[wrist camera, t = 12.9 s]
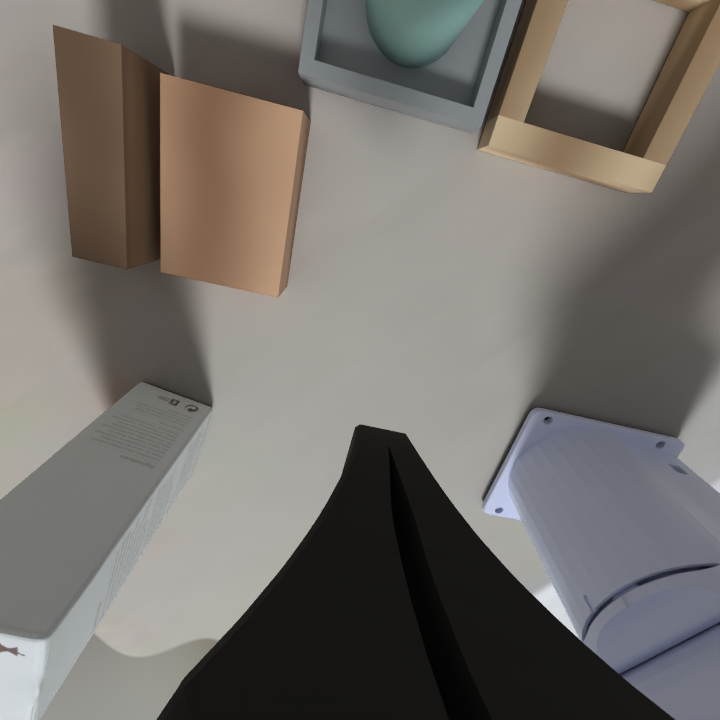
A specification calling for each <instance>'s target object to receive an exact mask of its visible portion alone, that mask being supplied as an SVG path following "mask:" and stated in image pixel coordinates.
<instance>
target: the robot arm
mask: <svg viewBox="0 0 720 720" xmlns="http://www.w3.org/2000/svg"><path fill="white" fill-rule="evenodd" d="M546 417H549V418H548V419H547V420H544V419H545V418H546ZM683 449H684V443H683V442H682V441H681V440H679V439H678V438H675V437H670V436H666V435H661V434H657V433H652V432H648V431H643V430H639V429H634V428H630V427H625V426H621V425H616V424H612V423H607V422H602V421H598V420H593V419H589V418H584V417H580V416H575V415H571V414H566V413H562V412H557V411H553V410H548V409H544V408H535V409H533V410H531V411H530V413H529V414H528V416H527V418H526V420H525V422H524V424H523V426H522V428H521V430H520V432H519V434H518V436H517V438H516V440H515V441H514V443H513V445H512V447H511V449H510V451H509V453H508V455H507V457H506V459H505V461H504V463H503V465H502V467H501V469H500V471H499V472H498V474H497V476H496V478H495V480H494V482H493V484H492V486H491V488H490V490H489V492H488V494H487V496H486V498H485V500H484V502H483V504H482V507H483V510H484V512H485V513H487V514H491V515H496V516H502V517H507V518H512V519H518V520H521V521H522V523H523V525H524V527H525V529H526V531H527V533H528V535H529V537H530V539H531V541H532V543H533V545H534V547H535V549H536V551H537V553H538V555H539V557H540V559H541V561H542V563H543V566H544V568H545V570H546V572H547V574H548V576H549V578H550V580H551V582H552V584H553V586H554V588H555V590H556V592H557V594H558V596H559V598H560V600H561V602H562V604H563V606H564V608H565V610H566V612H567V614H568V617H569V619H570V621H571V623H572V625H573V627H574V629H575V631H576V633H577V635H578V637H579V639H580V640H579V639H578V638H577V637H576V636H575V635H574V634H573V633H572V632H571V631H570V630H569V629H567V628H566V627H565V626H564V625H563V624H562V623H561V622H560V621H559V620H558V619H557V618H556V617H555V616H553V615H552V614H551V613H550V612H549V611H548V610H547V609H546V608H545V607H544V606H543V605H542V604H541V603H540V602H539V601H538V600H537V599H536V598H535V597H534V596H533V595H532V594H531V593H530V592H529V591H528V590H527V589H526V588H525V587H524V586H523V585H522V584H521V583H520V582H519V581H518V580H517V579H516V578H515V577H514V576H513V575H512V574H511V573H510V572H509V570H508V569H507V568H506V567H505V566H504V565H503V564H502V563H501V562H500V560H499V559H498V558H497V557H496V556H495V555H494V554H493V553H492V552H491V550H490V549H489V548H488V547H487V546H486V545H485V544H484V543H483V541H482V540H481V539H480V538H479V537H478V535H477V534H476V533H475V532H474V531H473V529H472V528H471V527H470V526H469V524H468V523H467V522H466V520H465V519H464V518H463V517H462V515H461V514H460V513H459V512H458V510H457V509H456V508H455V506H454V505H453V504H452V502H451V501H450V500H449V498H448V497H447V495H446V494H445V493H444V491H443V490H442V488H441V487H440V486H439V484H438V483H437V481H436V480H435V478H434V477H433V475H432V474H431V472H430V471H429V469H428V468H427V466H426V465H425V463H424V462H423V460H422V459H421V457H420V456H419V454H418V453H417V451H416V449H415V448H414V446H413V445H412V443H411V442H410V440H409V438H408V437H407V435H406V434H404V433H399V432H395V431H390V430H385V429H380V428H375V427H370V426H365V425H359V426H357V427H355V430H354V433H353V437H352V440H351V444H350V447H349V451H348V454H347V458H346V462H345V465H344V469H343V472H342V476H341V478H340V480H339V482H338V483H337V485H336V487H335V489H334V491H333V493H332V495H331V496H330V498H329V500H328V502H327V504H326V505H325V507H324V509H323V510H322V512H321V513H320V515H319V517H318V518H317V520H316V521H315V523H314V524H313V526H312V527H311V529H310V530H309V532H308V533H307V535H306V536H305V538H304V539H303V540H302V542H301V543H300V545H299V546H298V547H297V549H296V550H295V551H294V553H293V554H292V556H291V557H290V558H289V560H288V561H287V562H286V564H285V565H284V566H283V567H282V569H281V570H280V571H279V573H278V574H277V575H276V576H275V577H274V579H273V580H272V581H271V582H270V583H269V585H268V586H267V587H266V588H265V589H264V591H263V592H262V593H261V594H260V595H259V597H258V598H257V599H256V600H255V601H254V603H253V604H252V605H251V606H250V607H249V609H248V610H247V611H246V612H245V613H244V614H243V615H242V617H241V618H240V619H239V620H238V621H237V622H236V623H235V624H234V626H233V627H232V628H231V629H230V630H229V631H228V632H227V633H226V634H225V635H224V636H223V637H222V638H221V639H220V640H219V641H218V643H217V644H216V645H215V646H214V647H213V648H212V649H211V650H210V651H209V652H208V653H207V654H206V655H205V656H204V657H203V659H202V660H201V661H200V662H199V663H198V664H197V665H196V666H195V667H194V668H193V669H192V670H191V671H190V672H189V673H188V675H187V676H186V677H185V678H184V679H183V680H182V682H181V684H180V686H179V687H178V689H177V690H176V692H175V693H174V694H173V696H172V698H171V699H170V700H169V702H168V703H167V705H166V706H165V708H164V709H163V711H162V712H161V714H160V715H159V717H158V718H157V720H720V493H719V492H717V491H716V490H715V489H714V488H713V487H711V486H710V485H709V484H708V483H707V482H705V481H704V480H703V479H702V478H701V477H699V476H698V475H697V474H696V473H695V472H693V471H692V470H691V469H690V468H689V467H687V466H686V465H685V464H684V463H683V462H681V461H680V460H679V459H678V458H677V457H678V456H679V454H680V453H681V452H682V450H683ZM498 507H500V508H498ZM496 508H497V509H496Z"/></svg>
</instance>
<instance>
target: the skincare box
mask: <svg viewBox="0 0 720 720" xmlns="http://www.w3.org/2000/svg"><path fill="white" fill-rule="evenodd" d="M211 411H212V408H211V407H209V406H207V405H204V404H201V403H199V402H196V401H193V400H191V399H188V398H184V397H182V396H179V395H177V394H174V393H171V392H168V391H165V390H163V389H160V388H158V387H155V386H152V385H150V384H147V383H144V382H140V383H138V384H137V385H136V386H135V387H134V388H132V389H131V390H130V391H129V392H128V393H126V394H125V395H124V396H123V397H122V398H120V399H119V400H118V401H117V402H116V403H115V404H113V405H112V406H111V407H110V408H109V409H108V410H106V411H105V412H104V413H103V414H102V415H100V416H99V417H98V418H97V419H96V420H95V421H93V422H92V423H91V424H90V425H89V426H88V427H86V428H85V429H84V430H83V431H81V432H80V433H79V434H78V435H77V436H76V437H74V438H73V439H72V440H71V441H69V442H68V443H67V444H66V445H65V446H64V447H62V448H61V449H60V450H59V451H58V452H56V453H55V454H54V455H53V456H52V457H51V458H49V459H48V460H47V461H46V462H45V463H44V464H42V465H41V466H40V467H39V468H38V469H37V470H35V471H34V472H33V473H32V474H31V475H29V476H28V477H27V478H26V479H25V480H23V481H22V482H21V483H20V484H19V485H18V486H16V487H15V488H14V489H13V490H12V491H11V492H9V493H8V494H7V495H6V496H5V497H3V498H2V499H1V500H0V720H40V718H41V717H42V715H43V713H44V712H45V710H46V708H47V707H48V705H49V703H50V701H51V700H52V699H53V697H54V695H55V694H56V692H57V691H58V689H59V687H60V686H61V684H62V683H63V681H64V679H65V678H66V676H67V675H68V673H69V671H70V670H71V668H72V666H73V665H74V663H75V662H76V660H77V658H78V657H79V655H80V654H81V652H82V650H83V649H84V647H85V646H86V644H87V643H88V641H89V640H90V638H91V636H92V635H93V633H94V632H95V630H96V628H97V627H98V625H99V623H100V622H101V620H102V619H103V617H104V615H105V614H106V612H107V610H108V609H109V607H110V606H111V604H112V602H113V601H114V599H115V598H116V596H117V594H118V593H119V591H120V589H121V588H122V586H123V585H124V583H125V581H126V580H127V578H128V577H129V575H130V573H131V572H132V570H133V568H134V567H135V565H136V564H137V562H138V560H139V559H140V557H141V555H142V554H143V552H144V550H145V549H146V547H147V546H148V544H149V542H150V541H151V539H152V538H153V536H154V534H155V533H156V531H157V529H158V528H159V526H160V525H161V523H162V521H163V520H164V518H165V517H166V515H167V513H168V512H169V510H170V509H171V507H172V505H173V504H174V502H175V500H176V499H177V497H178V496H179V494H180V493H181V491H182V489H183V488H184V486H185V484H186V483H187V481H188V480H189V477H190V474H191V471H192V468H193V465H194V462H195V459H196V456H197V453H198V450H199V447H200V444H201V441H202V438H203V435H204V432H205V429H206V426H207V423H208V420H209V417H210V414H211Z"/></svg>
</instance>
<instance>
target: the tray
mask: <svg viewBox="0 0 720 720" xmlns="http://www.w3.org/2000/svg"><path fill="white" fill-rule="evenodd" d="M521 3H522V0H484V1H483V3H482V4H481V5H480V7H479V8H478V10H477V11H476V12H475V14H474V15H473V17H472V18H471V20H470V21H469V22H468V24H467V25H466V27H465V28H464V29H463V31H462V32H461V34H460V35H459V36H458V38H457V39H456V41H455V42H454V43H453V45H452V46H451V47H450V49H449V50H448V51H447V52H446V53H445V54H444V55H443V56H442V57H441V58H440V59H438V60H437V61H435V62H434V63H432V64H429V65H427V66H424V67H419V68H407V67H403V66H400V65H397V64H395V63H394V62H392V61H390V60H389V59H388V58H387V57H385V56H384V54H383V53H382V52H381V51H380V50H379V48H378V47H377V45H376V44H375V42H374V40H373V38H372V36H371V33H370V30H369V27H368V23H367V17H366V0H308V4H307V11H306V18H305V25H304V33H303V40H302V47H301V54H300V61H299V69H298V74H299V76H300V78H301V80H302V81H303V83H304V85H308V86H311V87H315V88H318V89H322V90H325V91H328V92H332V93H335V94H339V95H342V96H346V97H349V98H352V99H356V100H359V101H363V102H366V103H370V104H373V105H376V106H380V107H383V108H387V109H390V110H393V111H397V112H400V113H404V114H407V115H411V116H414V117H417V118H421V119H424V120H428V121H431V122H435V123H438V124H441V125H445V126H448V127H452V128H455V129H459V130H462V131H465V132H469V133H471V132H473V131H475V130H476V129H478V128H480V127H481V126H482V123H483V120H484V117H485V113H486V110H487V107H488V104H489V101H490V98H491V95H492V92H493V89H494V86H495V83H496V80H497V76H498V73H499V70H500V67H501V64H502V61H503V58H504V55H505V52H506V49H507V46H508V43H509V39H510V36H511V33H512V30H513V27H514V24H515V21H516V18H517V15H518V12H519V9H520V6H521Z"/></svg>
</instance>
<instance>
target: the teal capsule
mask: <svg viewBox="0 0 720 720" xmlns="http://www.w3.org/2000/svg"><path fill="white" fill-rule="evenodd" d="M483 1H484V0H366V17H367V23H368V27H369V30H370V33H371V36H372V38H373V40H374V42H375V44H376V45H377V47H378V48H379V50H380V51H381V52H382V53H383V54H384V56H385V57H387V58H388V59H389V60H390V61H392V62H394V63H395V64H397V65H400V66H403V67H407V68H419V67H424V66H427V65H429V64H432V63H434V62H435V61H437V60H438V59H440V58H441V57H442V56H443V55H444V54H445V53H446V52H447V51H448V50H449V49H450V47H451V46H452V45H453V43H454V42H455V41H456V39H457V38H458V36H459V35H460V34H461V32H462V31H463V29H464V28H465V27H466V25H467V24H468V22H469V21H470V20H471V18H472V17H473V15H474V14H475V12H476V11H477V10H478V8H479V7H480V5H481V4H482V3H483Z"/></svg>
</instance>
